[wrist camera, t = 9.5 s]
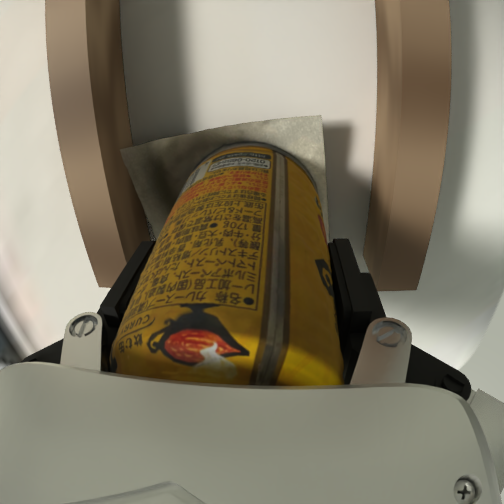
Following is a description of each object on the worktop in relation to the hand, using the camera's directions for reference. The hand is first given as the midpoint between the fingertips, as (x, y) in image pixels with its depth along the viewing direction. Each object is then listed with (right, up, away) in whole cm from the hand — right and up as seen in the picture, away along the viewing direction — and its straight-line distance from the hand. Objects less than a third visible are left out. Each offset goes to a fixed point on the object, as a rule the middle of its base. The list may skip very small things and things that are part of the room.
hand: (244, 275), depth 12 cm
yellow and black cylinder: (-1, +3, +2) cm, 4 cm away
